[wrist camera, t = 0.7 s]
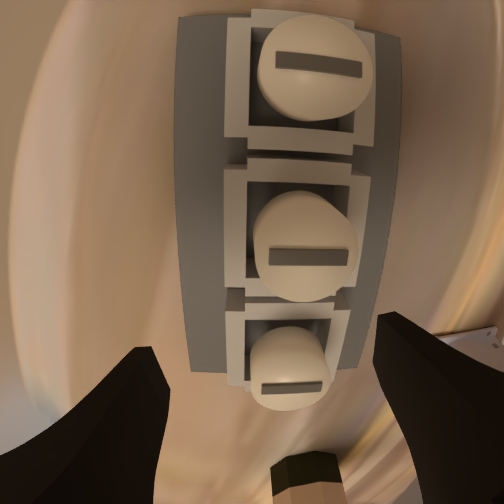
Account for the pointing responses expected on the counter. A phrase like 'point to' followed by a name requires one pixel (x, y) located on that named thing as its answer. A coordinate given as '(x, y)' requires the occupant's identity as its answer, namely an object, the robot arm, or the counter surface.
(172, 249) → the counter surface
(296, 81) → the knob
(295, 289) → the knob
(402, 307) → the counter surface
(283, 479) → the wine bottle
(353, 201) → the mount board
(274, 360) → the knob
